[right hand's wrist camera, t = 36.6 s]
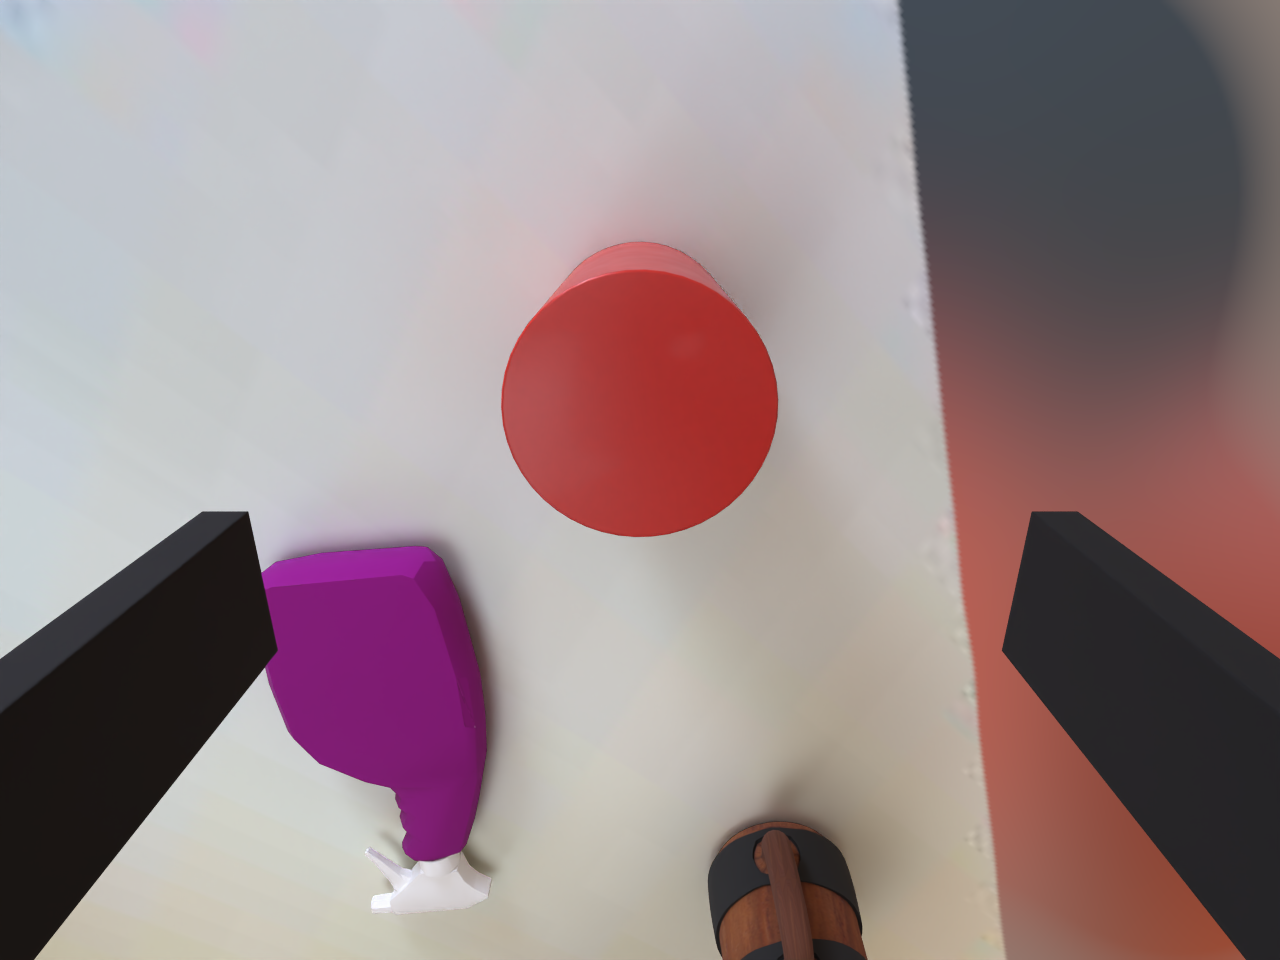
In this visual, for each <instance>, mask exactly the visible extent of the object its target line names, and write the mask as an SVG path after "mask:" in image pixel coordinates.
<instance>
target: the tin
mask: <svg viewBox="0 0 1280 960" xmlns="http://www.w3.org/2000/svg"><path fill="white" fill-rule="evenodd" d="M501 410H502V420H503V427H504V431H505V435H506V439H507V443H508V445H509V448H510V451H511V453H512V456H513V458H514V460H515V462H516V464H517V465H518V467H519V469H520V471H521V473H522V474H523V476H524V477H525V478H526V480H527V481H528V482H529V484H530V485H531V487H532V488H533V489H534V490H535V491H536V492H537V493H538V494H539V495H540V496H541V497H542V498H543V499H544V500H545V501H546V502H547V503H549V504H550V505H551V506H552V507H553V508H555V509H556V510H557V511H559V512H560V513H562V514H563V515H565V516H567V517H568V518H570V519H571V520H574V521H576V522H578V523H580V524H582V525H584V526H586V527H589V528H592V529H595V530H598V531H601V532H605V533H609V534H614V535H620V536H631V537H651V536H659V535H665V534H671V533H674V532H678V531H682V530H685V529H688V528H690V527H693V526H695V525H698V524H700V523H702V522H704V521H706V520H707V519H709V518H711V517H713V516H715V515H716V514H718V513H719V512H720V511H722V510H723V509H725V508H726V507H727V506H729V505H730V504H731V503H732V502H733V501H734V500H735V499H736V498H737V497H739V496H740V495H741V494H742V493H743V491H744V490H745V489H746V488H747V487H748V485H749V484H750V483H751V482H752V481H753V479H754V478H755V476H756V474H757V473H758V471H759V470H760V468H761V467H762V465H763V463H764V460H765V458H766V456H767V454H768V452H769V449H770V446H771V443H772V440H773V437H774V434H775V428H776V422H777V415H778V393H777V382H776V378H775V374H774V369H773V365H772V362H771V360H770V357H769V355H768V352H767V349H766V347H765V345H764V343H763V342H762V340H761V338H760V336H759V334H758V333H757V331H756V330H755V328H754V327H753V326H752V324H751V323H750V322H749V320H748V319H747V318H746V317H745V315H744V314H743V313H742V312H741V311H740V309H739V308H738V307H737V306H736V305H735V304H734V302H733V301H732V300H731V299H730V298H729V297H728V295H727V294H726V293H725V292H724V291H723V289H722V288H721V287H720V286H719V285H718V284H717V282H716V281H715V280H714V279H713V278H712V277H711V275H710V274H709V273H708V272H707V271H706V270H705V269H704V268H703V267H702V266H701V265H700V264H699V263H697V262H696V261H695V260H693V259H692V258H691V257H689V256H687V255H686V254H684V253H682V252H680V251H678V250H676V249H673V248H671V247H668V246H665V245H661V244H657V243H649V242H629V243H624V244H618V245H615V246H612V247H608V248H606V249H604V250H601V251H599V252H597V253H595V254H594V255H592V256H591V257H589V258H588V259H586V260H585V261H583V262H582V263H581V264H580V265H579V266H578V267H576V268H575V269H574V271H573V272H572V273H571V274H570V275H569V276H568V277H567V279H566V280H565V281H564V282H563V283H562V284H561V286H560V287H559V288H558V289H557V290H556V291H555V293H554V294H553V295H552V296H551V297H550V298H549V300H548V301H547V302H546V303H545V304H544V306H543V307H542V308H541V309H540V310H539V311H538V313H537V314H536V315H535V316H534V317H533V318H532V320H531V321H530V322H529V323H528V324H527V326H526V328H525V329H524V331H523V332H522V334H521V335H520V337H519V338H518V340H517V342H516V344H515V346H514V348H513V350H512V353H511V355H510V358H509V361H508V364H507V367H506V370H505V374H504V380H503V386H502V399H501Z"/></svg>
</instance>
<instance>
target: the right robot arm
mask: <svg viewBox="0 0 1280 960" xmlns="http://www.w3.org/2000/svg"><path fill="white" fill-rule="evenodd" d="M277 651H278V648H277V643H276V639H275V634H274V629H273V625H272V620H271V615H270V611H269V606H268V601H267V597H266V592H265V588H264V583H263V578H262V574H261V569H260V564H259V560H258V555H257V550H256V546H255V541H254V536H253V532H252V527H251V522H250V518H249V513H248V512H201V513H200V514H198V515H197V516H196V517H194V518H193V519H192V520H190V521H189V522H187V523H186V524H185V525H183V526H182V527H181V528H179V529H178V530H177V531H175V532H174V533H172V534H171V535H170V536H168V537H167V538H166V539H164V540H163V541H161V542H160V543H159V544H157V545H156V546H155V547H153V548H152V549H150V550H149V551H148V552H146V553H145V554H144V555H142V556H141V557H140V558H138V559H137V560H135V561H134V562H133V563H131V564H130V565H129V566H127V567H126V568H124V569H123V570H122V571H120V572H119V573H118V574H116V575H115V576H113V577H112V578H111V579H109V580H108V581H107V582H105V583H104V584H102V585H101V586H100V587H98V588H97V589H96V590H94V591H93V592H92V593H90V594H89V595H87V596H86V597H85V598H83V599H82V600H81V601H79V602H78V603H76V604H75V605H74V606H72V607H71V608H70V609H68V610H67V611H65V612H64V613H63V614H61V615H60V616H59V617H57V618H56V619H54V620H53V621H52V622H50V623H49V624H48V625H46V626H45V627H44V628H42V629H41V630H39V631H38V632H37V633H35V634H34V635H33V636H31V637H30V638H28V639H27V640H26V641H24V642H23V643H22V644H20V645H19V646H17V647H16V648H15V649H13V650H12V651H11V652H9V653H8V654H6V655H5V656H4V657H2V658H1V659H0V960H34V959H35V958H36V956H37V955H38V954H39V953H40V951H41V950H42V949H43V948H44V946H45V945H46V944H47V943H48V941H49V940H50V939H51V937H52V936H53V935H54V934H55V932H56V931H57V930H58V929H59V927H60V926H61V925H62V924H63V922H64V921H65V920H66V918H67V917H68V916H69V915H70V913H71V912H72V911H73V910H74V908H75V907H76V906H77V905H78V903H79V902H80V901H81V899H82V898H83V897H84V896H85V894H86V893H87V892H88V891H89V889H90V888H91V887H92V886H93V884H94V883H95V882H96V881H97V879H98V878H99V877H100V875H101V874H102V873H103V872H104V870H105V869H106V868H107V867H108V865H109V864H110V863H111V862H112V860H113V859H114V858H115V856H116V855H117V854H118V853H119V851H120V850H121V849H122V848H123V846H124V845H125V844H126V843H127V841H128V840H129V839H130V837H131V836H132V835H133V834H134V832H135V831H136V830H137V829H138V827H139V826H140V825H141V824H142V822H143V821H144V820H145V818H146V817H147V816H148V815H149V813H150V812H151V811H152V810H153V808H154V807H155V806H156V805H157V803H158V802H159V801H160V799H161V798H162V797H163V796H164V794H165V793H166V792H167V791H168V789H169V788H170V787H171V786H172V784H173V783H174V782H175V781H176V779H177V778H178V777H179V775H180V774H181V773H182V772H183V770H184V769H185V768H186V767H187V765H188V764H189V763H190V762H191V760H192V759H193V758H194V756H195V755H196V754H197V753H198V751H199V750H200V749H201V748H202V746H203V745H204V744H205V743H206V741H207V740H208V739H209V737H210V736H211V735H212V734H213V732H214V731H215V730H216V729H217V727H218V726H219V725H220V724H221V722H222V721H223V720H224V718H225V717H226V716H227V715H228V713H229V712H230V711H231V710H232V708H233V707H234V706H235V705H236V703H237V702H238V701H239V699H240V698H241V697H242V696H243V694H244V693H245V692H246V691H247V689H248V688H249V687H250V686H251V684H252V683H253V682H254V681H255V679H256V678H257V677H258V675H259V674H260V673H261V672H262V670H263V669H264V668H265V667H266V665H267V664H268V663H269V662H270V660H271V659H272V658H273V656H274V655H275V654H276V653H277ZM1002 651H1003V653H1004V654H1005V655H1006V656H1007V658H1008V659H1009V660H1010V662H1011V663H1012V664H1013V665H1014V667H1015V668H1016V669H1017V670H1018V672H1019V673H1020V674H1021V675H1022V677H1023V678H1024V679H1025V681H1026V682H1027V683H1028V684H1029V686H1030V687H1031V688H1032V689H1033V691H1034V692H1035V693H1036V694H1037V696H1038V697H1039V698H1040V699H1041V701H1042V702H1043V703H1044V705H1045V706H1046V707H1047V708H1048V710H1049V711H1050V712H1051V713H1052V715H1053V716H1054V717H1055V718H1056V720H1057V721H1058V722H1059V724H1060V725H1061V726H1062V727H1063V729H1064V730H1065V731H1066V732H1067V734H1068V735H1069V736H1070V737H1071V739H1072V740H1073V741H1074V742H1075V744H1076V745H1077V746H1078V748H1079V749H1080V750H1081V751H1082V753H1083V754H1084V755H1085V756H1086V758H1087V759H1088V760H1089V762H1090V763H1091V764H1092V765H1093V767H1094V768H1095V769H1096V770H1097V772H1098V773H1099V774H1100V775H1101V777H1102V778H1103V779H1104V780H1105V782H1106V783H1107V784H1108V786H1109V787H1110V788H1111V789H1112V791H1113V792H1114V793H1115V794H1116V796H1117V797H1118V798H1119V799H1120V801H1121V802H1122V803H1123V805H1124V806H1125V807H1126V808H1127V810H1128V811H1129V812H1130V813H1131V815H1132V816H1133V817H1134V818H1135V820H1136V821H1137V822H1138V824H1139V825H1140V826H1141V827H1142V829H1143V830H1144V831H1145V832H1146V834H1147V835H1148V836H1149V837H1150V839H1151V840H1152V841H1153V843H1154V844H1155V845H1156V846H1157V848H1158V849H1159V850H1160V851H1161V853H1162V854H1163V855H1164V856H1165V858H1166V859H1167V860H1168V862H1169V863H1170V864H1171V865H1172V867H1173V868H1174V869H1175V870H1176V872H1177V873H1178V874H1179V875H1180V877H1181V878H1182V879H1183V881H1184V882H1185V883H1186V884H1187V885H1188V887H1189V888H1190V889H1191V891H1192V892H1193V893H1194V894H1195V896H1196V897H1197V898H1198V899H1199V901H1200V902H1201V903H1202V905H1203V906H1204V907H1205V908H1206V910H1207V911H1208V912H1209V913H1210V915H1211V916H1212V917H1213V918H1214V920H1215V921H1216V922H1217V924H1218V925H1219V926H1220V927H1221V929H1222V930H1223V931H1224V932H1225V934H1226V935H1227V936H1228V937H1229V939H1230V940H1231V941H1232V943H1233V944H1234V945H1235V946H1236V948H1237V949H1238V950H1239V951H1240V953H1241V954H1242V955H1243V956H1244V958H1245V959H1246V960H1280V659H1279V658H1278V657H1276V656H1275V655H1274V654H1272V653H1271V652H1269V651H1268V650H1267V649H1265V648H1264V647H1262V646H1261V645H1260V644H1258V643H1257V642H1256V641H1254V640H1253V639H1252V638H1250V637H1249V636H1247V635H1246V634H1245V633H1243V632H1242V631H1241V630H1239V629H1238V628H1236V627H1235V626H1234V625H1232V624H1231V623H1230V622H1228V621H1227V620H1225V619H1224V618H1223V617H1221V616H1220V615H1219V614H1217V613H1216V612H1215V611H1213V610H1212V609H1210V608H1209V607H1208V606H1206V605H1205V604H1204V603H1202V602H1201V601H1199V600H1198V599H1197V598H1195V597H1194V596H1193V595H1191V594H1190V593H1188V592H1187V591H1186V590H1184V589H1183V588H1182V587H1180V586H1179V585H1178V584H1176V583H1175V582H1173V581H1172V580H1171V579H1169V578H1168V577H1167V576H1165V575H1164V574H1162V573H1161V572H1160V571H1158V570H1157V569H1156V568H1154V567H1153V566H1151V565H1150V564H1149V563H1147V562H1146V561H1145V560H1143V559H1142V558H1140V557H1139V556H1138V555H1136V554H1135V553H1134V552H1132V551H1131V550H1130V549H1128V548H1127V547H1125V546H1124V545H1123V544H1121V543H1120V542H1119V541H1117V540H1116V539H1114V538H1113V537H1112V536H1110V535H1109V534H1108V533H1106V532H1105V531H1103V530H1102V529H1101V528H1099V527H1098V526H1097V525H1095V524H1094V523H1092V522H1091V521H1090V520H1088V519H1087V518H1086V517H1084V516H1083V515H1082V514H1080V513H1079V512H1032V513H1031V518H1030V522H1029V527H1028V532H1027V536H1026V541H1025V546H1024V550H1023V555H1022V560H1021V564H1020V569H1019V574H1018V578H1017V583H1016V588H1015V592H1014V597H1013V601H1012V606H1011V611H1010V615H1009V620H1008V625H1007V629H1006V634H1005V639H1004V643H1003V648H1002Z"/></svg>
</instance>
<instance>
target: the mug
mask: <svg viewBox="0 0 1280 960" xmlns="http://www.w3.org/2000/svg"><path fill="white" fill-rule="evenodd" d="M708 892H709V902H710V910H711V917H712V923H713V928H714V934H715V939H716V944H717V948H718V950H719V952H720V954H721V956H722V958H723V960H867V956H866V952H865V949H864V945H863V941H862V937H861V936H862V921H861V916H860V912H859V907H858V903H857V898H856V894H855V890H854V886H853V882H852V879H851V876H850V872H849V869H848V867H847V864H846V861H845V858H844V857H843V855H842V853H841V852H840V850H839V849H838V848H837V847H836V846H835V845H834V844H833V843H832V842H831V841H829V840H828V839H826V838H825V837H824V836H822V835H821V834H820V833H818V832H817V831H815V830H813V829H811V828H809V827H806V826H804V825H800V824H796V823H790V822H769V823H763V824H759V825H755V826H752V827H750V828H747V829H745V830H743V831H741V832H739V833H738V834H736V835H735V836H733V837H732V838H731V839H730V840H729V841H727V843H726V844H725V845H724V846H723V847H722V849H721V850H720V852H719V853H718V855H717V857H716V858H715V860H714V861H713V863H712V865H711V867H710V871H709V874H708Z"/></svg>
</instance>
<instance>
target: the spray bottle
mask: <svg viewBox="0 0 1280 960" xmlns="http://www.w3.org/2000/svg"><path fill="white" fill-rule="evenodd" d="M261 574H262V578H263V583H264V588H265V592H266V597H267V601H268V606H269V611H270V615H271V620H272V625H273V629H274V634H275V639H276V643H277V648H278V651H277V653H276V654H275V655H274V656H273V658H272V659H271V660H270V662H269V663H268V664H267V665H266V667H265V669H266V673H267V677H268V681H269V685H270V687H271V690H272V692H273V695H274V697H275V700H276V702H277V705H278V707H279V710H280V712H281V715H282V718H283V720H284V723H285V725H286V728H287V730H288V732H289V733H290V734H291V736H292V737H293V738H294V740H295V741H296V742H297V743H298V744H299V745H301V746H302V747H303V748H304V749H305V750H306V751H307V752H308V753H309V754H310V755H311V756H312V757H313V758H314V759H315V760H316V761H317V762H318V763H319V764H321V765H324V766H326V767H329V768H331V769H334V770H336V771H339V772H341V773H344V774H346V775H349V776H351V777H354V778H356V779H359V780H361V781H364V782H367V783H371V784H376V785H380V786H385V787H389V788H391V789H392V790H393V791H394V792H395V793H396V796H395V799H396V802H397V805H398V807H399V808H400V809H401V813H400V819H401V822H402V826H403V828H404V829H405V830H406V831H407V833H406V835H405V837H404V840H403V842H402V848H403V850H404V852H405V854H406V855H408V856H409V857H410V858H412V859H413V860H415V861H418V862H417V863H416V864H415V866H414V867H413V868H412V869H407V868H402V867H401V866H399V865H397V864H396V863H394V862H393V861H391V860H390V859H388V858H387V857H385V856H383V855H382V854H380V853H379V852H377V851H376V850H374V849H372V848H371V847H369V848H367V849H366V852H365V855H366V856H367V857H368V858H369V859H370V860H371V861H373V862H374V863H375V865H376V866H377V867H378V868H379V869H380V871H381V872H382V873H383V874H384V875H385V877H386V878H387V879H388V880H389V881H390V883H391V884H392V886H393V888H394V891H393V892H392V893H386V894H380V895H375V896H373V898H372V901H371V910H372V912H373V913H386V912H393V913H394V914H396V915H398V914H409V913H420V912H432V911H443V910H454V909H465V908H469V907H471V906H473V905H475V904H477V903H479V902H481V901H483V900H485V899H487V898H488V896H489V891H490V886H491V881H492V878H490V877H488V876H486V875H484V874H482V873H479V872H478V871H476V870H475V869H474V868H473V867H472V866H470V865H469V863H468V861H467V860H466V858H465V856H464V854H463V852H462V851H461V850H462V849H463V848H464V846H465V845H466V844H467V841H468V838H469V834H470V831H471V828H472V825H473V822H474V819H475V814H476V809H477V804H478V799H479V794H480V789H481V782H482V776H483V770H484V764H485V758H486V752H487V743H486V718H485V707H484V699H483V691H482V683H481V676H480V671H479V667H478V663H477V660H476V656H475V653H474V649H473V645H472V642H471V638H470V634H469V631H468V627H467V624H466V620H465V616H464V613H463V609H462V606H461V602H460V598H459V596H458V594H457V591H456V589H455V587H454V585H453V582H452V580H451V578H450V575H449V573H448V571H447V569H446V566H445V564H444V562H443V560H442V559H441V558H440V557H439V556H438V555H437V554H435V553H434V552H433V551H432V550H430V549H429V548H428V547H422V546H409V547H396V548H382V549H369V550H355V551H341V552H328V553H319V554H314V555H309V556H304V557H298V558H293V559H288V560H283V561H278V562H275V563H274V564H273V565H271V566H270V567H269V568H267V569H266V570H265V571H264V572H262V573H261Z"/></svg>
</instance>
